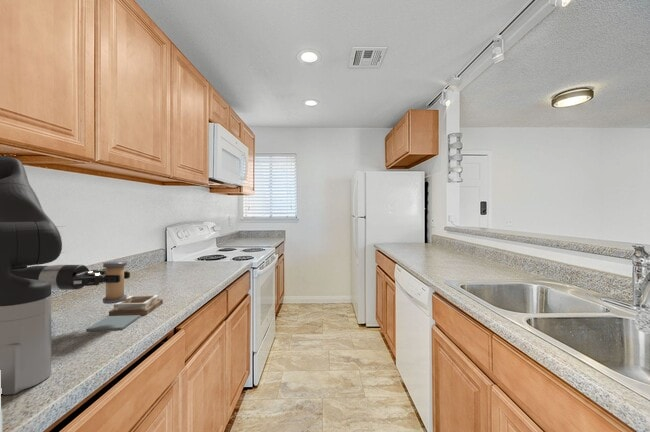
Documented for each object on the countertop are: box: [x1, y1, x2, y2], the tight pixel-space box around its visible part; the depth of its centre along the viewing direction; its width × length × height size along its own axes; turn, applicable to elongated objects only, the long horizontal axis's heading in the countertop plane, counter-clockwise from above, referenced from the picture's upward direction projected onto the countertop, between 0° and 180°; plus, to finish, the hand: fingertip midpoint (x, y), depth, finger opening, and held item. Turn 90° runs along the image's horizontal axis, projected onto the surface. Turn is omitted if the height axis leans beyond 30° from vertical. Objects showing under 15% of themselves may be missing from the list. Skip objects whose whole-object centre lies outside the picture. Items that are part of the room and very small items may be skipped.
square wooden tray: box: [108, 294, 164, 316], centre depth 101 cm, size 12×12×4 cm
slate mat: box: [86, 315, 142, 332], centre depth 88 cm, size 10×10×1 cm
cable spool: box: [102, 260, 128, 305], centre depth 88 cm, size 6×6×12 cm
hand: (124, 276), depth 88 cm, fingers closed on cable spool, 4 cm apart
